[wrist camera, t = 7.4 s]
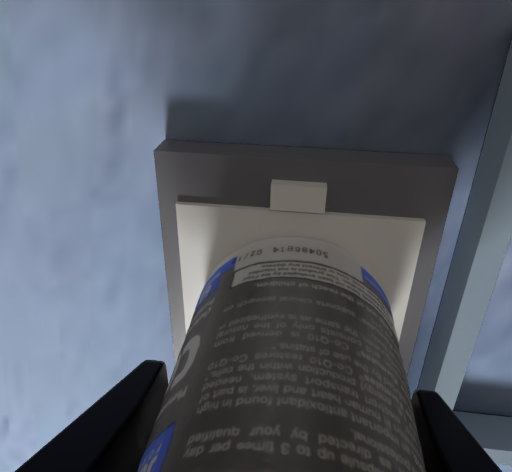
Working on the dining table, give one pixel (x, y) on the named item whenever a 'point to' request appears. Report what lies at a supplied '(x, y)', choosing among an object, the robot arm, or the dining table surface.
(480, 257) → the grey square frame
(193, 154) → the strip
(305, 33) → the dining table surface
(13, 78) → the dining table surface
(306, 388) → the pill bottle
